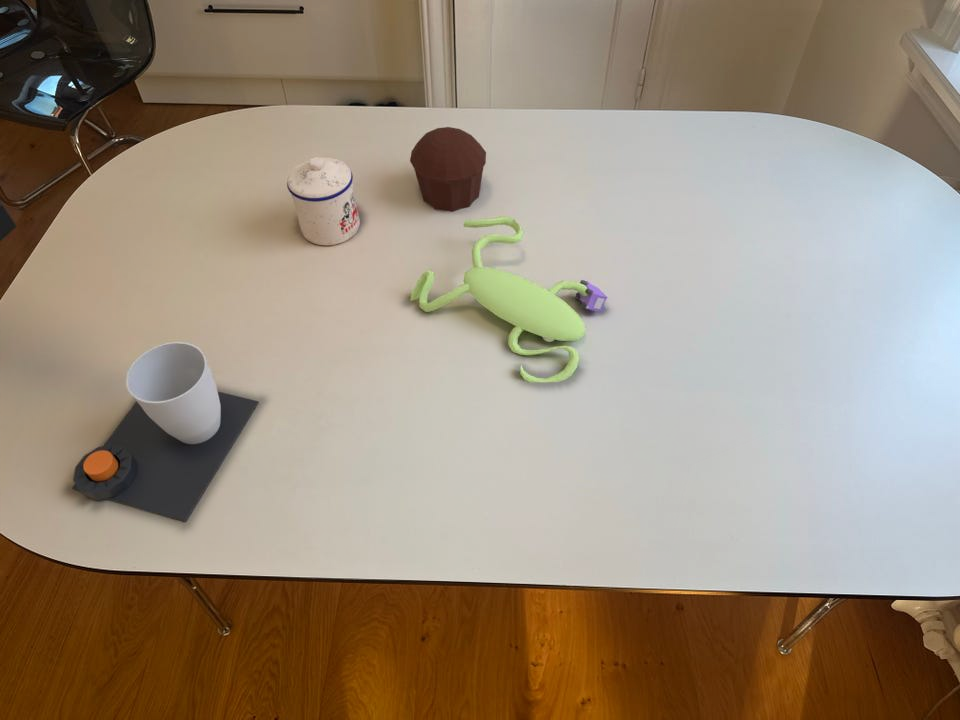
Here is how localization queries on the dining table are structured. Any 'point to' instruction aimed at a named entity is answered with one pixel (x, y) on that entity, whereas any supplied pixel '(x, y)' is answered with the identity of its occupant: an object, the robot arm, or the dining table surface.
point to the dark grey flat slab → (164, 462)
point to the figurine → (519, 300)
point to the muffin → (448, 168)
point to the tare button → (100, 465)
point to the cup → (177, 391)
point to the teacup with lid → (324, 200)
